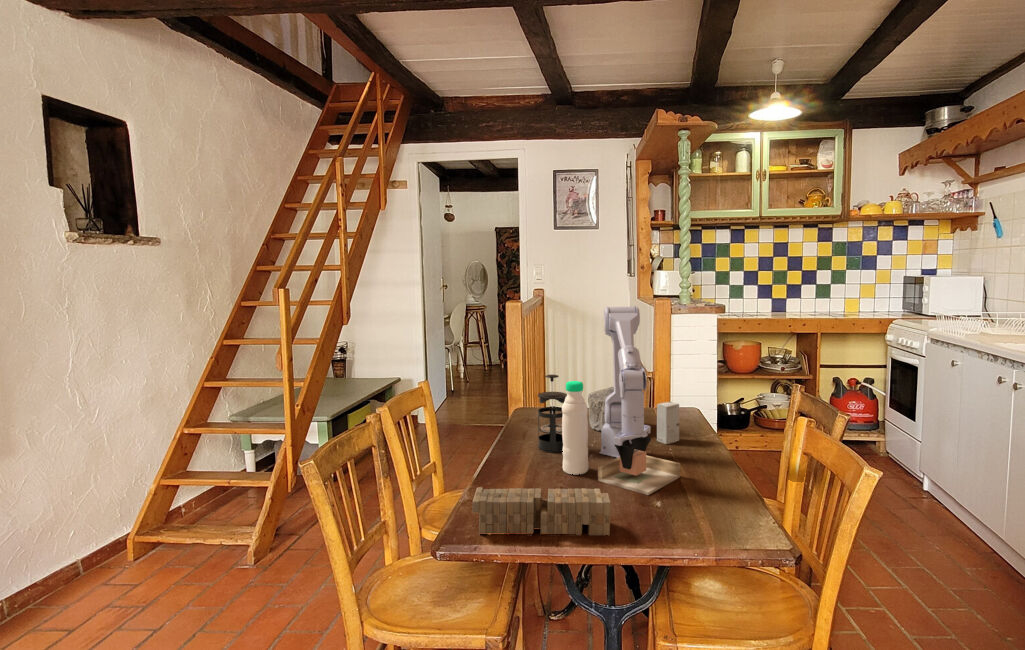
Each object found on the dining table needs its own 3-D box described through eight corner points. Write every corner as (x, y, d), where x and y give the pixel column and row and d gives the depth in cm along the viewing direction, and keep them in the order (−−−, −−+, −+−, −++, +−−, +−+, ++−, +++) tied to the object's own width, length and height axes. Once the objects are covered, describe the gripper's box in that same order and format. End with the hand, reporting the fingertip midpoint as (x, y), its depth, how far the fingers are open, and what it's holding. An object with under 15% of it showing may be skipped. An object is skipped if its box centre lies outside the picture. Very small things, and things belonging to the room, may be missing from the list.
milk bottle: (591, 468, 167) (590, 380, 164) (583, 477, 161) (582, 385, 158) (567, 465, 170) (566, 378, 167) (559, 473, 164) (557, 383, 161)
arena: (598, 480, 158) (597, 466, 157) (631, 464, 169) (631, 451, 169) (648, 495, 148) (648, 480, 147) (679, 477, 159) (680, 463, 159)
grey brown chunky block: (581, 424, 212) (580, 382, 211) (625, 418, 217) (625, 378, 216) (605, 438, 194) (604, 393, 193) (652, 432, 200) (652, 388, 198)
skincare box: (666, 444, 186) (666, 406, 185) (655, 441, 190) (656, 403, 189) (680, 441, 190) (680, 403, 189) (669, 437, 194) (669, 401, 192)
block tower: (606, 524, 135) (476, 520, 136) (607, 488, 134) (476, 484, 135) (609, 541, 127) (472, 536, 128) (610, 502, 126) (472, 498, 128)
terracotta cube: (636, 475, 154) (636, 456, 154) (619, 471, 158) (619, 452, 157) (646, 470, 158) (646, 451, 157) (630, 466, 161) (630, 447, 161)
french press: (568, 453, 180) (567, 378, 178) (537, 453, 181) (536, 378, 178) (567, 441, 192) (566, 370, 189) (538, 441, 193) (536, 371, 190)
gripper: (630, 423, 148) (630, 476, 150) (660, 411, 159) (660, 461, 160) (606, 418, 153) (607, 470, 155) (637, 407, 163) (637, 456, 165)
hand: (632, 465), depth 158 cm, fingers closed on terracotta cube, 5 cm apart
